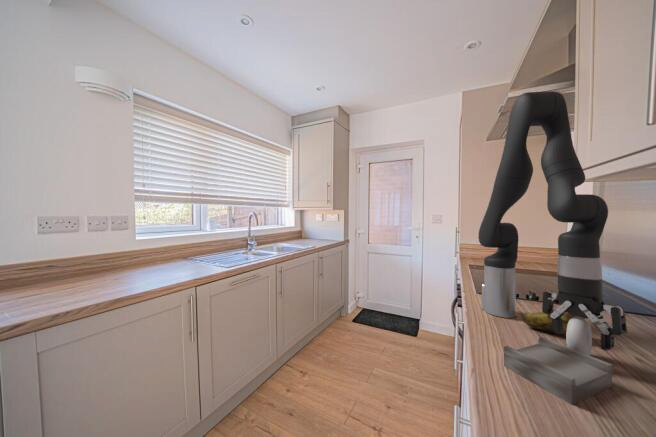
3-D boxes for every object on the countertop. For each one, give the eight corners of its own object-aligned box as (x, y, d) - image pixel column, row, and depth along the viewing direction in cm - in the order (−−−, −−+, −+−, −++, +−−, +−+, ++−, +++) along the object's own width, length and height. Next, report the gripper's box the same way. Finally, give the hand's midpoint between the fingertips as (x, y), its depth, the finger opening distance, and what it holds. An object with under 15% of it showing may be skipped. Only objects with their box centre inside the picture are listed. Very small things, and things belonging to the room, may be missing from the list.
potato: (533, 321, 78) (533, 298, 78) (589, 339, 66) (589, 311, 66) (521, 327, 74) (521, 302, 74) (578, 346, 62) (578, 317, 62)
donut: (574, 348, 61) (573, 310, 62) (593, 354, 59) (593, 315, 59) (564, 361, 56) (563, 319, 56) (585, 369, 53) (585, 325, 53)
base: (503, 365, 54) (503, 346, 54) (541, 354, 59) (541, 336, 59) (571, 404, 43) (571, 380, 43) (612, 386, 47) (612, 364, 47)
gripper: (631, 279, 52) (634, 353, 51) (552, 268, 65) (553, 326, 65) (613, 282, 49) (615, 359, 49) (535, 270, 63) (536, 330, 62)
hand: (580, 340), depth 57 cm, fingers open, 8 cm apart
